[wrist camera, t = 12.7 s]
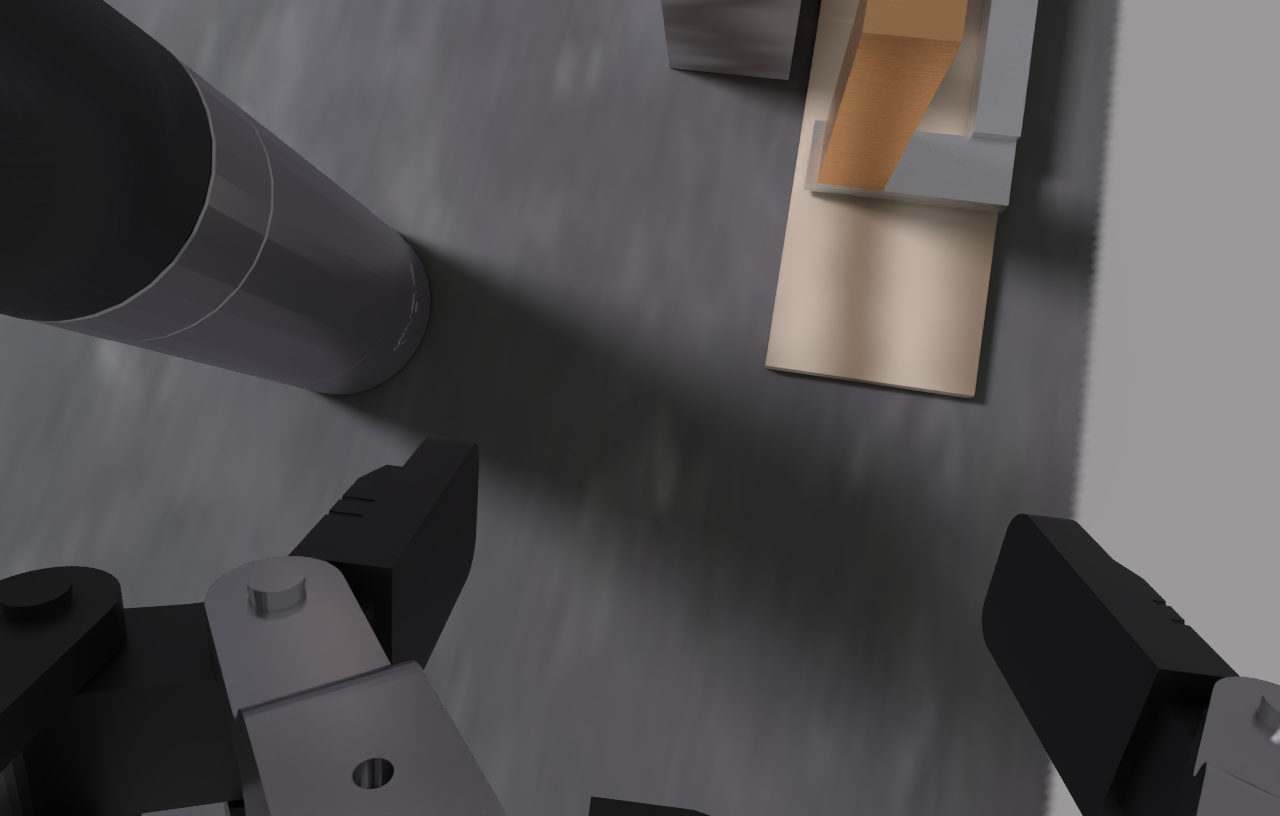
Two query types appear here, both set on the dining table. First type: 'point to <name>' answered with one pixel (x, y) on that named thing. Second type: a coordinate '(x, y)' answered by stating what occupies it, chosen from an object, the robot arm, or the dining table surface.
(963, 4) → the handle
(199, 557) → the dining table surface
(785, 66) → the press bench
